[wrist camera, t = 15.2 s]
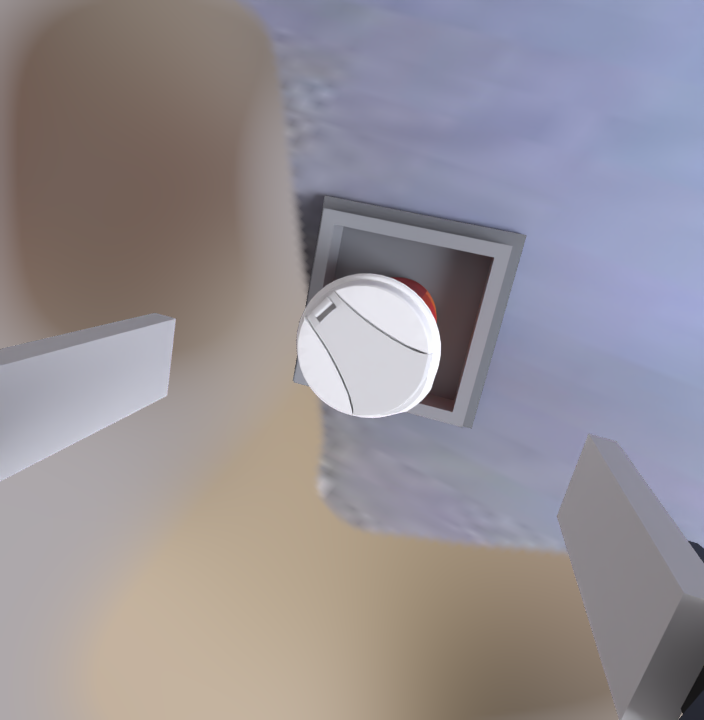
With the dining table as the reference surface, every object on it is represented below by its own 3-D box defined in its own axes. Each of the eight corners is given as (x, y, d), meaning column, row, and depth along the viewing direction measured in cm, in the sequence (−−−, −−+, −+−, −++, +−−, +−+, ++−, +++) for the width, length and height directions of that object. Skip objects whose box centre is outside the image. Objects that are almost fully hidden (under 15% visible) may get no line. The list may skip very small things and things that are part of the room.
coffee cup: (331, 308, 42) (258, 343, 27) (404, 241, 39) (366, 241, 25) (396, 383, 42) (357, 456, 28) (473, 321, 39) (474, 366, 25)
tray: (328, 196, 41) (313, 191, 37) (525, 235, 38) (531, 234, 34) (296, 377, 45) (280, 390, 41) (471, 424, 42) (471, 442, 38)
